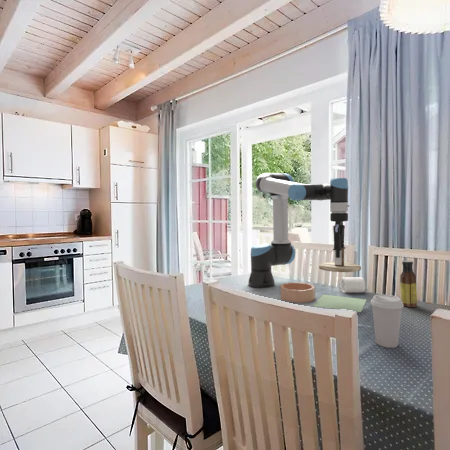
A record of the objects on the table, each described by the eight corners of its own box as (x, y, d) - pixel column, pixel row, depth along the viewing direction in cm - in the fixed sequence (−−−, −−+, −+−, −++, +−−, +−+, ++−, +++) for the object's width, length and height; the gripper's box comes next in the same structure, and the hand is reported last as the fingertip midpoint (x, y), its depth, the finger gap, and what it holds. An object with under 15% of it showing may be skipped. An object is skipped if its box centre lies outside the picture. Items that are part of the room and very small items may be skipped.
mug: (365, 294, 159) (365, 279, 159) (345, 295, 160) (345, 279, 159) (356, 288, 171) (356, 274, 171) (337, 289, 172) (337, 274, 171)
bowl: (287, 292, 166) (287, 281, 166) (318, 296, 158) (318, 284, 158) (276, 300, 153) (275, 288, 152) (309, 305, 144) (309, 292, 144)
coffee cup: (364, 338, 107) (364, 294, 106) (391, 336, 108) (391, 293, 107) (381, 350, 98) (381, 302, 97) (410, 348, 99) (410, 301, 98)
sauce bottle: (415, 304, 142) (415, 260, 141) (418, 308, 136) (419, 262, 135) (398, 303, 144) (399, 259, 143) (401, 307, 139) (401, 262, 137)
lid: (323, 263, 157) (323, 245, 156) (363, 266, 148) (363, 246, 147) (314, 270, 141) (314, 249, 141) (357, 273, 132) (357, 251, 132)
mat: (323, 295, 159) (323, 294, 159) (366, 300, 149) (366, 299, 149) (312, 307, 142) (312, 305, 142) (361, 313, 132) (361, 312, 132)
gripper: (344, 212, 134) (344, 267, 135) (350, 211, 149) (350, 261, 150) (326, 213, 138) (326, 266, 139) (334, 212, 153) (334, 260, 154)
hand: (339, 263), depth 145 cm, fingers closed on lid, 4 cm apart
